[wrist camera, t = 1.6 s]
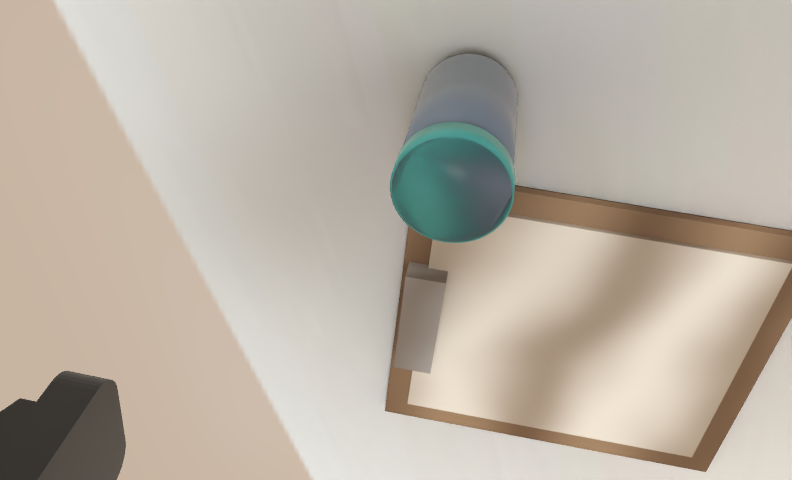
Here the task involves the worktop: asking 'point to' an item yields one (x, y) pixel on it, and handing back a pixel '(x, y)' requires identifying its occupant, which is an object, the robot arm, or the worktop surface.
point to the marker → (459, 152)
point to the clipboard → (592, 326)
